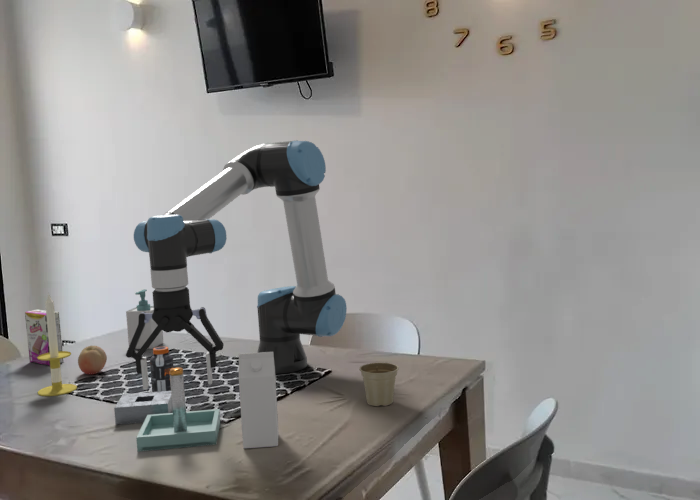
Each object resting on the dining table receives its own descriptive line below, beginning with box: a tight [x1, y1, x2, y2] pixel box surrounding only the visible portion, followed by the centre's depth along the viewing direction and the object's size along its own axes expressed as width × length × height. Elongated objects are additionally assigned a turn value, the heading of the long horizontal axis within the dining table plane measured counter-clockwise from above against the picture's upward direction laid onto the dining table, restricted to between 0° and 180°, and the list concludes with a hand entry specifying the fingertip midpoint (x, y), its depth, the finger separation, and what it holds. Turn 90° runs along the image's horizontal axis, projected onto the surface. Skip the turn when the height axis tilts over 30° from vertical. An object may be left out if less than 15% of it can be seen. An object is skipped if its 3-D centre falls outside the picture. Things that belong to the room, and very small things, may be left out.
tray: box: [136, 408, 221, 452], centre depth 152 cm, size 16×14×3 cm
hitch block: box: [113, 390, 173, 426], centre depth 167 cm, size 12×10×4 cm
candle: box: [37, 292, 78, 397], centre depth 189 cm, size 10×10×27 cm
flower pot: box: [358, 362, 400, 407], centre depth 168 cm, size 9×9×9 cm
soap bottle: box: [125, 289, 164, 350], centre depth 237 cm, size 9×9×19 cm
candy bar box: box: [24, 309, 64, 367], centre depth 221 cm, size 11×5×16 cm, turn 58°
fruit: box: [77, 345, 108, 376], centre depth 206 cm, size 8×8×8 cm
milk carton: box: [238, 352, 280, 449], centre depth 146 cm, size 7×7×19 cm
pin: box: [170, 367, 187, 433], centre depth 152 cm, size 3×3×14 cm
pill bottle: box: [149, 346, 175, 392], centre depth 187 cm, size 6×6×11 cm
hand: (178, 385), depth 151 cm, fingers open, 13 cm apart
